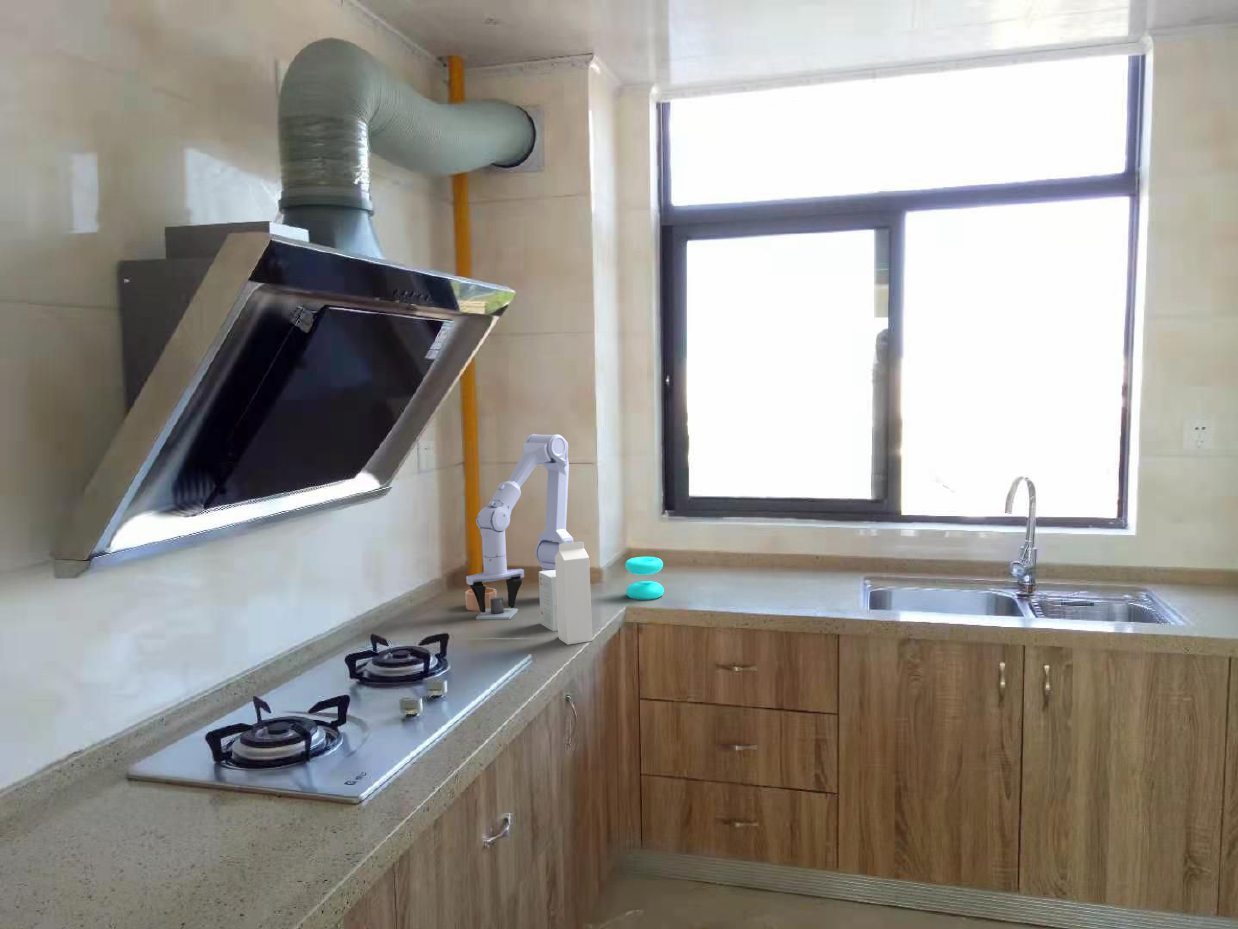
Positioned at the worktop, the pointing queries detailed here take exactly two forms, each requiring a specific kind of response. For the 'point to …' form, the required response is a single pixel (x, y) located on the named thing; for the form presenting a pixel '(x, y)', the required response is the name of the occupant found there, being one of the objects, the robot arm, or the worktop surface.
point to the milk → (573, 593)
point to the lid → (497, 610)
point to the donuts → (644, 588)
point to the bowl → (472, 601)
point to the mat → (499, 619)
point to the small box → (548, 599)
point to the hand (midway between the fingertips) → (497, 609)
